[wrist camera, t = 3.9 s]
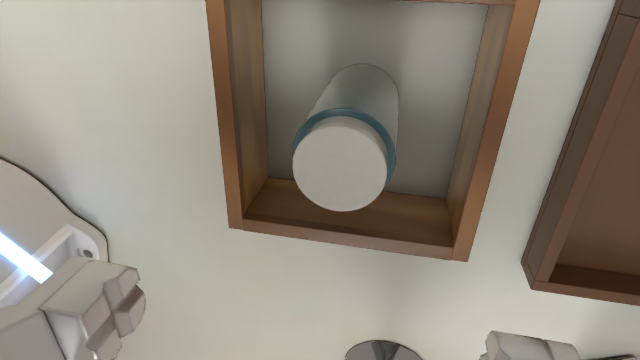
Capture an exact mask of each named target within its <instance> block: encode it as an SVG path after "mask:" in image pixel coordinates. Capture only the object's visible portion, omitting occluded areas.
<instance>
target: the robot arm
mask: <svg viewBox="0 0 640 360" xmlns="http://www.w3.org/2000/svg"><path fill="white" fill-rule="evenodd" d="M139 280H140V277H139V274H138V271H137V269H136V268H133V267H129V266H124V265H120V264H115V263H110V262H108V253H107V242H106V239H105V237H104V236H103V234H102V233H101V232H100V231H98V230H97V229H96V228H95V227H93V226H92V225H90V224H89V223H87V222H85V221H84V220H82V219H81V218H79V217H77V216H76V215H74V214H73V213H72V212H71V211H69V210H68V209H67V208H66V207H65V206H64V205H63V204H62V203H61V202H60V200H59V199H58V198H57V197H56V196H55V195H54V194H53V193H52V192H51V191H49V190H48V189H47V188H46V187H45V186H44V185H43V184H41V183H40V182H39V181H38V180H36V179H35V178H33V177H32V176H31V175H29V174H28V173H26V172H25V171H23V170H21V169H19V168H18V167H16V166H14V165H12V164H10V163H8V162H6V161H3V160H1V159H0V360H112V359H113V358H114V357H115V355H116V354H117V353H118V351H119V350H120V349H121V347H122V337H124V336H126V335H128V334H130V333H131V332H133V331H134V330H135V328H136V327H137V326H138V324H139V323H140V321H141V319H142V316H143V314H144V311H145V304H146V299H145V295H144V292H143V291H142V290H141V289H140V288H139V287H138V286H137V285H136V284H137V283H138V281H139ZM485 343H486V349H487V353H485V354H483V355H481V356H480V358H479V360H581V359H580V357H579V355H578V352H577V350H576V349H575V348H574V346H573V345H572V344H567V343H561V342H556V341H550V340H542V339H540V338H534V337H528V336H522V335H516V334H510V333H504V332H498V331H491V332H490V333H489V334H488V337H487V339H486V342H485Z"/></svg>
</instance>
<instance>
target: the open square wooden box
mask: <svg viewBox="0 0 640 360" xmlns="http://www.w3.org/2000/svg"><path fill="white" fill-rule="evenodd" d="M205 1H206V11H207V20H208V30H209V40H210V49H211V59H212V69H213V78H214V88H215V97H216V107H217V117H218V126H219V136H220V145H221V155H222V165H223V174H224V184H225V193H226V203H227V213H228V222H229V228H233V229H240V230H243V231H250V232H257V233H264V234H271V235H278V236H285V237H292V238H299V239H305V240H312V241H319V242H326V243H333V244H340V245H347V246H354V247H361V248H368V249H375V250H382V251H388V252H395V253H402V254H409V255H416V256H423V257H430V258H437V259H444V260H456V261H463V262H467V261H468V258H469V255H470V251H471V247H472V244H473V240H474V237H475V233H476V230H477V226H478V222H479V219H480V215H481V212H482V208H483V205H484V201H485V197H486V194H487V190H488V187H489V183H490V179H491V176H492V172H493V169H494V165H495V162H496V158H497V154H498V151H499V147H500V144H501V140H502V136H503V133H504V129H505V126H506V122H507V119H508V115H509V111H510V108H511V104H512V101H513V97H514V93H515V90H516V86H517V83H518V79H519V76H520V72H521V68H522V65H523V61H524V58H525V54H526V51H527V47H528V43H529V40H530V36H531V33H532V29H533V25H534V22H535V18H536V15H537V11H538V8H539V4H540V0H405V1H426V2H447V3H467V4H488V5H489V8H488V12H487V17H486V21H485V26H484V30H483V35H482V39H481V44H480V48H479V53H478V58H477V62H476V67H475V71H474V76H473V80H472V85H471V89H470V94H469V98H468V103H467V107H466V112H465V116H464V121H463V125H462V130H461V134H460V139H459V143H458V148H457V152H456V157H455V161H454V166H453V170H452V175H451V179H450V184H449V188H448V193H447V197H446V199H441V198H433V197H425V196H416V195H408V194H400V193H392V192H383V191H381V193H380V194H379V195H378V197H377V198H376V199H375V200H374V201H372V202H371V203H370V204H368V205H366V206H364V207H362V208H360V209H356V210H352V211H334V210H330V209H326V208H324V207H321V206H319V205H317V204H315V203H314V202H312V201H311V200H310V199H309V198H307V197H306V196H305V195H304V194H303V192H302V191H301V190H300V188H299V187H298V185H297V183H296V181H293V180H285V179H277V178H269V177H268V163H267V138H266V114H265V89H264V64H263V40H262V15H261V0H205Z"/></svg>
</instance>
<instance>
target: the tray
mask: <svg viewBox="0 0 640 360" xmlns="http://www.w3.org/2000/svg"><path fill="white" fill-rule="evenodd" d="M521 265H522V267H523V270H524V272H525V275H526V278H527V280H528V283H529V286H530V288H531V289H532V290H537V291H544V292H551V293H557V294H564V295H571V296H577V297H584V298H591V299H597V300H604V301H610V302H617V303H624V304H630V305H637V306H640V0H617V1H616V4H615V7H614V10H613V12H612V15H611V18H610V20H609V23H608V26H607V29H606V31H605V34H604V37H603V40H602V42H601V45H600V48H599V50H598V53H597V56H596V59H595V61H594V64H593V67H592V70H591V72H590V75H589V78H588V80H587V83H586V86H585V89H584V91H583V94H582V97H581V100H580V102H579V105H578V108H577V110H576V113H575V116H574V119H573V121H572V124H571V127H570V130H569V132H568V135H567V138H566V140H565V143H564V146H563V149H562V151H561V154H560V157H559V160H558V162H557V165H556V168H555V170H554V173H553V176H552V179H551V181H550V184H549V187H548V190H547V192H546V195H545V198H544V200H543V203H542V206H541V209H540V211H539V214H538V217H537V220H536V222H535V225H534V228H533V230H532V233H531V236H530V239H529V241H528V244H527V247H526V250H525V252H524V255H523V258H522V260H521Z"/></svg>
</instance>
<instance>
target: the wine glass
mask: <svg viewBox="0 0 640 360" xmlns="http://www.w3.org/2000/svg"><path fill="white" fill-rule="evenodd" d="M345 360H421V359H420V357H419V356H418V355H417V354H415V353H414V352H413V351H411V350H410V349H408V348H406V347H404V346H402V345H399V344H396V343H393V342H387V341H369V342H364V343H361V344H358V345H356V346H355V347H353V348H352V349H351V350H349V352H348V353H347V354H346V357H345Z"/></svg>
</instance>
